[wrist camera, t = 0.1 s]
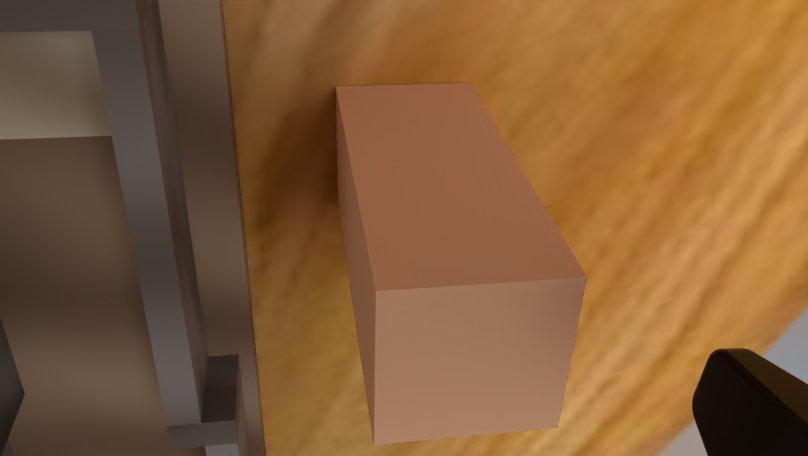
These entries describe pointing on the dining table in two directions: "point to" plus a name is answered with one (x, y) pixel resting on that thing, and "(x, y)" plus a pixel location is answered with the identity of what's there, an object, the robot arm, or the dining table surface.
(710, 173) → the dining table surface
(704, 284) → the dining table surface
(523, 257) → the peg
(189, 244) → the keyhole board
